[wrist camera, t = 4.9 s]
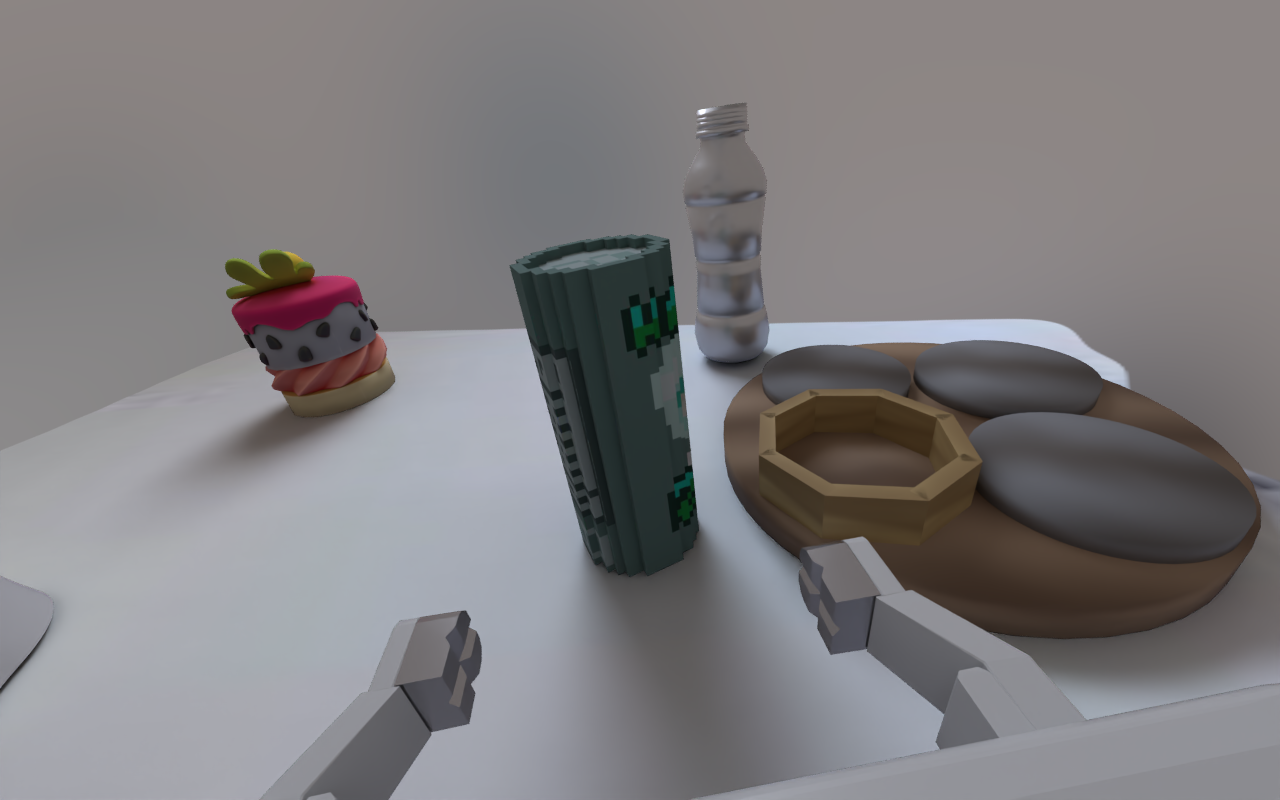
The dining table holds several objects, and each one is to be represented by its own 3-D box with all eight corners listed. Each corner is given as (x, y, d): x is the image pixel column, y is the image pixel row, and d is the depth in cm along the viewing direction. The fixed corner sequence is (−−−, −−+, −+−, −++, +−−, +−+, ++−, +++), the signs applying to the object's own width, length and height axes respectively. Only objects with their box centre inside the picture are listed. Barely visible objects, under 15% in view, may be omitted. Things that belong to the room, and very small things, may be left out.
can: (717, 542, 24) (695, 244, 17) (609, 594, 22) (531, 284, 15) (664, 480, 29) (629, 230, 22) (572, 517, 27) (501, 258, 20)
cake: (288, 395, 50) (208, 254, 43) (391, 362, 55) (334, 230, 48) (287, 432, 42) (188, 267, 35) (407, 390, 47) (341, 237, 40)
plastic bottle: (748, 377, 39) (741, 100, 30) (683, 363, 44) (658, 116, 34) (781, 348, 44) (784, 97, 34) (718, 338, 48) (706, 112, 38)
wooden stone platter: (1463, 687, 15) (1583, 592, 12) (704, 599, 21) (697, 527, 19) (1062, 362, 35) (1082, 303, 33) (736, 368, 41) (734, 320, 39)
